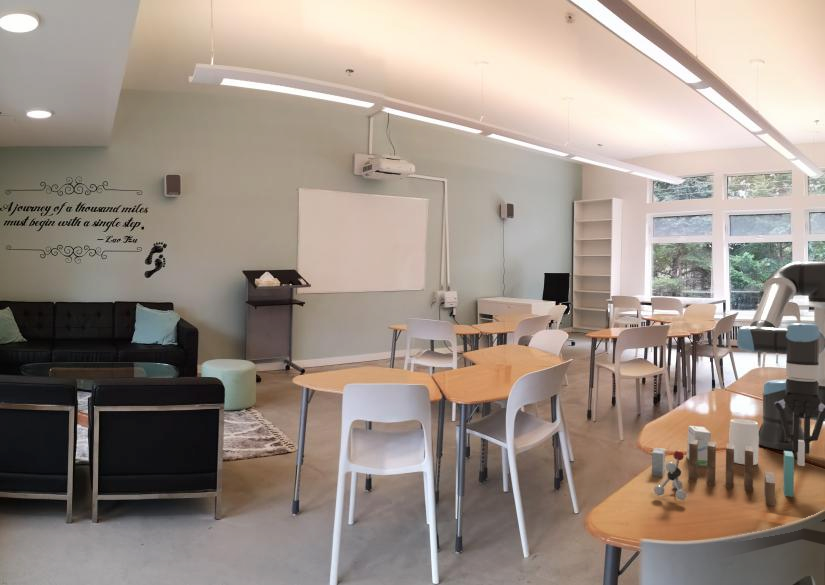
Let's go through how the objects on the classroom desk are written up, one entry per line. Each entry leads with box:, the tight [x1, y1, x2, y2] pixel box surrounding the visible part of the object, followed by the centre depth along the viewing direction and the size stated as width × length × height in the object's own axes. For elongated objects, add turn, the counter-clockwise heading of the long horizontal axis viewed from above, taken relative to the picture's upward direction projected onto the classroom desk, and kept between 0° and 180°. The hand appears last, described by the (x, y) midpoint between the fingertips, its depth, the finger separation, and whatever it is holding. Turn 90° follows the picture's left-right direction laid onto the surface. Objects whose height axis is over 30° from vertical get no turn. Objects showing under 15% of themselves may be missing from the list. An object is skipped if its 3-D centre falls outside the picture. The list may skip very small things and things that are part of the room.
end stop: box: [651, 446, 666, 478], centre depth 179 cm, size 3×7×7 cm, turn 151°
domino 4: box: [743, 446, 754, 492], centre depth 168 cm, size 2×6×11 cm, turn 151°
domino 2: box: [706, 441, 717, 486], centre depth 172 cm, size 2×6×11 cm, turn 151°
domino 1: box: [688, 439, 699, 483], centre depth 175 cm, size 2×6×11 cm, turn 151°
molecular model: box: [653, 450, 687, 501], centre depth 162 cm, size 8×12×11 cm
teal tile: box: [782, 450, 795, 498], centre depth 163 cm, size 2×6×11 cm, turn 151°
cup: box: [728, 418, 760, 466], centre depth 190 cm, size 8×8×14 cm
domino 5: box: [764, 471, 776, 507], centre depth 158 cm, size 2×6×11 cm
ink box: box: [686, 425, 712, 468], centre depth 189 cm, size 9×5×12 cm, turn 168°
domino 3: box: [725, 443, 735, 489], centre depth 170 cm, size 2×6×11 cm, turn 151°
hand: (800, 464), depth 162 cm, fingers closed
